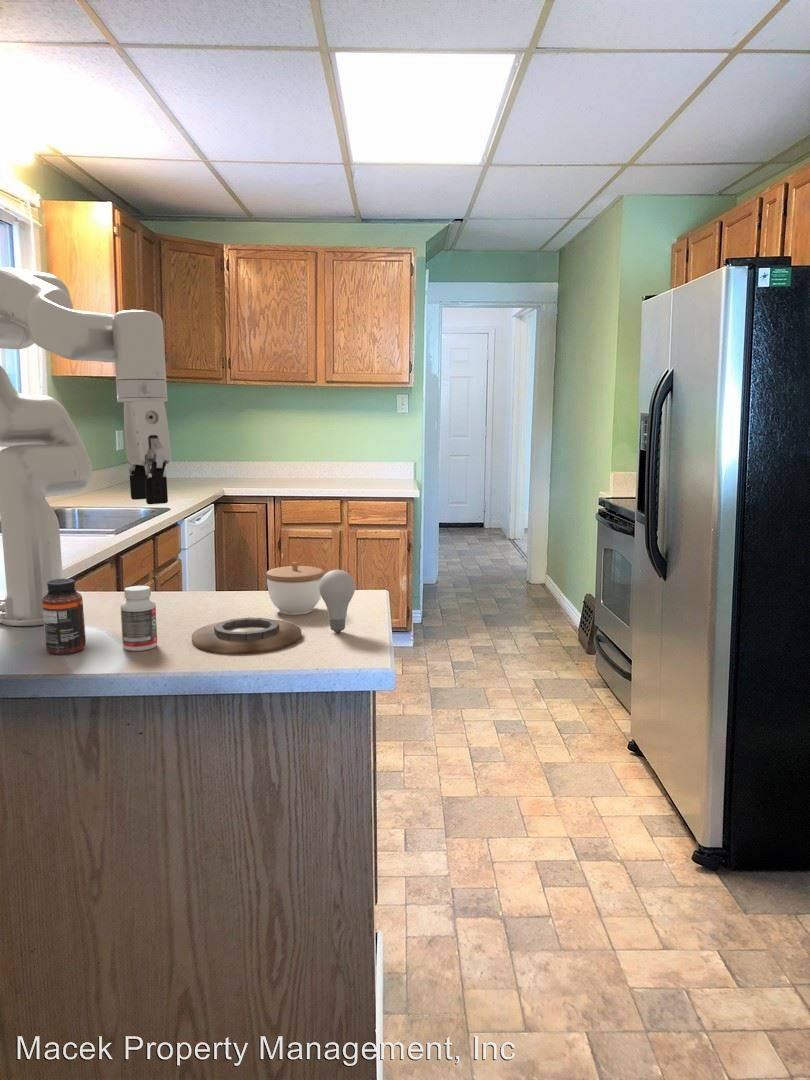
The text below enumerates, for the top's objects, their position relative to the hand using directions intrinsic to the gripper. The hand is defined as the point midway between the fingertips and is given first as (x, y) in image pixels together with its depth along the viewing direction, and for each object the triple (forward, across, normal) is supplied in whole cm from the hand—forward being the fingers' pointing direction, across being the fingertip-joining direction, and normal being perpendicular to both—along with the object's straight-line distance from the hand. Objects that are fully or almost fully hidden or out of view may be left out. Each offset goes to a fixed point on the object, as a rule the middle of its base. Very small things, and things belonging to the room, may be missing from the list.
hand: (149, 501), depth 132 cm
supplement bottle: (+24, +4, +14) cm, 27 cm away
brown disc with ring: (+24, -4, -14) cm, 28 cm away
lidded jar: (+24, +9, -28) cm, 38 cm away
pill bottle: (+24, 0, +3) cm, 24 cm away
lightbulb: (+24, -9, -28) cm, 38 cm away
